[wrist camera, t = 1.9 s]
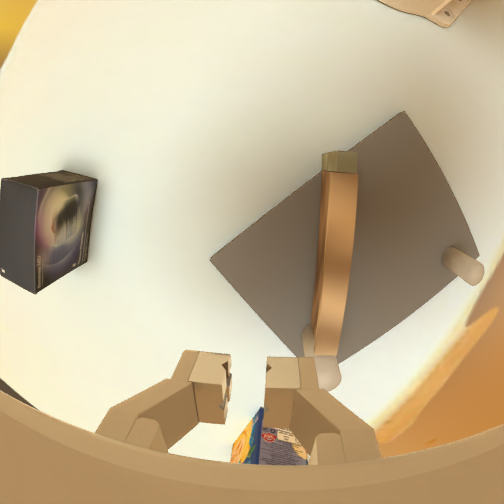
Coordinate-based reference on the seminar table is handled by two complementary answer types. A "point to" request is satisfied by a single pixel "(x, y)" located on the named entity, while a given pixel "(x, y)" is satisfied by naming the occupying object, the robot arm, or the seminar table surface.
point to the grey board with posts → (358, 249)
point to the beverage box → (267, 445)
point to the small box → (44, 226)
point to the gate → (334, 248)
